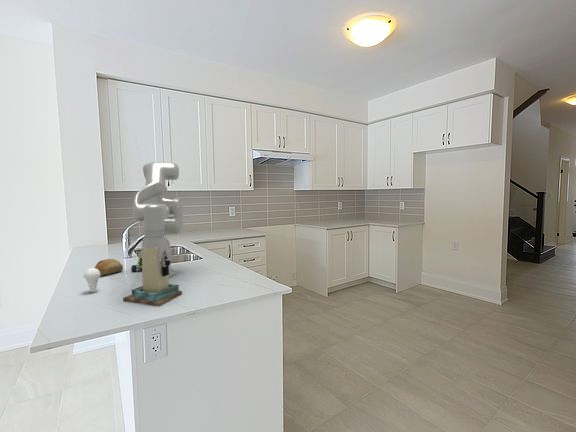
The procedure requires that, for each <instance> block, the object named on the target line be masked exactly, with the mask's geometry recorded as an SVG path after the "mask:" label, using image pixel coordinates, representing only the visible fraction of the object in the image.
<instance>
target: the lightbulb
mask: <svg viewBox="0 0 576 432" xmlns="http://www.w3.org/2000/svg"><path fill="white" fill-rule="evenodd" d="M100 277H101V276H100V271H99V270H98V269H96V268H95V267H90V268H88V269H87V270H85V271H84V273H83V278H84V279H85V281H86V282H87V285H88V287H89V292H91V293H95V292H96V291H97V288H98V287H97V286H98V281H99V279H100Z"/></svg>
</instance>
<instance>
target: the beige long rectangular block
mask: <svg viewBox="0 0 576 432" xmlns="http://www.w3.org/2000/svg"><path fill="white" fill-rule="evenodd" d="M167 249H168V246H167ZM141 252H142V269H141V270H142V286H143V291H144V292H151V293H158V292H160V291H163V290H165V289H167V288H169V284H170V280H169V279H170V277H169V275H167V276H162V267H163V265H162V264H161V262H158V248H152V247H142V246H141ZM165 257H166V256H164V258H163V259H165ZM167 260H168V259H167ZM164 262H165V261H164Z"/></svg>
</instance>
